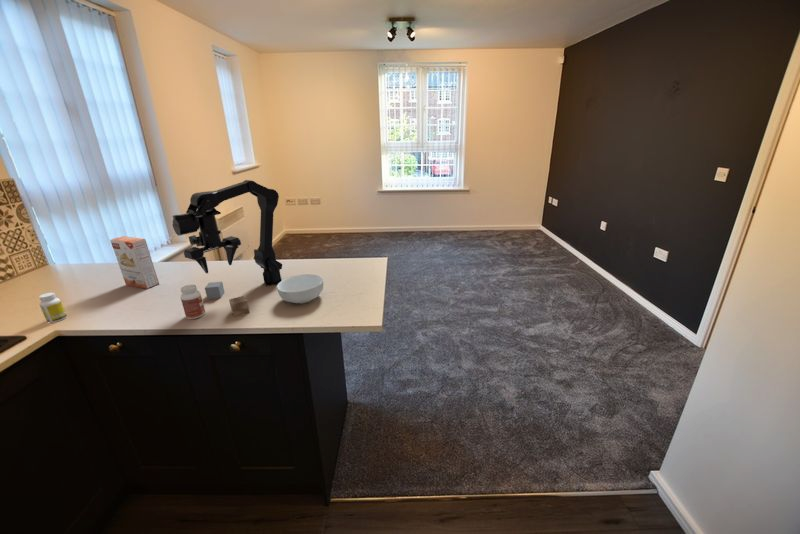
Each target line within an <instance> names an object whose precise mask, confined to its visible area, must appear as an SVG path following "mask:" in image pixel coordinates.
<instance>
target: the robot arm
mask: <svg viewBox="0 0 800 534" xmlns="http://www.w3.org/2000/svg"><path fill="white" fill-rule="evenodd" d="M247 193H250V194H251V195H252V196H254V197H256V200H257V205H258V207H259V209H260V228H259V246H258V248H257V249H254V250H253V254H254V255H253V258H252V259H254V262H255V264H256V265H258V266H259V267H260V268H261V269H263V272H262V277H263V281H264V282H263V283H265V286H272V285H278V284H279V283H280V282H281V281H282V280H283V279H282V276H281V271H280V270H282V269H283V263H282V262H279V261H278V260H277V257H276V252H275V250H274V248H273V237H274V236H273V234H274V232H273V231H274V214H275V213H274V212H275V210H276V208H277V207H278V203H279V197H280V196H279V193H278V191H277V190H276V189H274V188H268V187H267V186H264V185H261V184H259V183H257V182H256V181H254V180H252V179H251V180H250V179H245V180H243V181H241V182H237V183H235V184H232V185H228V186H226V187H222V188H219V189H217V190H209V191H199V192H195V193H193V194H192V195H191V196H190V199H189V200H190V204H189V205H188V207H187V210H186V212H185V213H183V214H174V215H172V218H173V219H172V229H173V230H174V232H175V234H176V236H178V237H180V236H184V235H187V234H192V233H196V232H198V230H199V232H198V235H199V236H197V235H195V234H194V235H190V236H188V241H189V243H190V246H193V247H189V248H186V249H185V248H184V251H183V255H184V258H187V259H188V260H189V259H190V260H193V261H195V262H196V263H197V264H198V265H199V266H200V267H201V269H202V271H204V273H205V274H209V267H208V262H207V259H206V257H205V256H204V255H205V253H207V252H211V251H214V250H217V249H221V248H223V249H224V251H225V254H226V260H227V263H228V266H232V264H233V260H234V257H235V254H236V251H237V249H238V248H239V246H241V245H242V241H241V239H240V238H239V237H237V236H231V235H230V236H227V237H224V238H222V239H221V234H222V232H221V230H219V227H218V224H217V219H216V216H218V215H221V214H222V212H221V211H220V210H217V209H216V207H218V206H219V205H220V204H221V203H223V202H225V201H228V200H230V199H233V198H236V197H240V196H241V195H244V194H247ZM194 245H196V246H194ZM200 247H201V248H200Z"/></svg>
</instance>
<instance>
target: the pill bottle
mask: <svg viewBox="0 0 800 534" xmlns="http://www.w3.org/2000/svg"><path fill="white" fill-rule="evenodd" d="M180 292H181V294H180V301H181V304H182V308H183V311H184V315H185V317H186V319H188V320H194V319H199V318H201V317H203V316H205V314H206V309H205V305H204V302H203V301H204V300H203V297H202V295H201V292H200V291H199V290H198V287H197V285H196V284H187V285H184V286H182V287H181V288H180Z"/></svg>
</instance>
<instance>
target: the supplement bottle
mask: <svg viewBox="0 0 800 534" xmlns="http://www.w3.org/2000/svg"><path fill="white" fill-rule="evenodd" d="M38 297H39V300H40V303H39V307H40V309H41V312H42V314H43V316H44V318H45V321H46V322H47V323H48V322H54V323H58V322H62V321H63V320H66V318H67V317H68V315H67V313H66V310H65V308H64V306H63V303H62V301H61V299H60V298H58V297H57V296H56V294H55V292H47V293H46V292H45V293H44V294H43V293H42V294H40V295H39V296H38Z"/></svg>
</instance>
